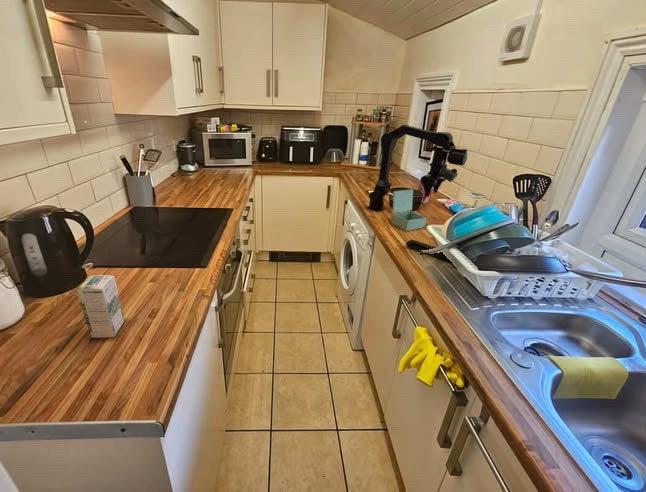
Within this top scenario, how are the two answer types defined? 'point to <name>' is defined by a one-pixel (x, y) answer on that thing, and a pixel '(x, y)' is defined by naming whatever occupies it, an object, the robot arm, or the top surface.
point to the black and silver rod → (425, 248)
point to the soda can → (425, 199)
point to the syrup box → (101, 306)
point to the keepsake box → (408, 220)
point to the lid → (402, 200)
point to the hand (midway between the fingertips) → (431, 194)
